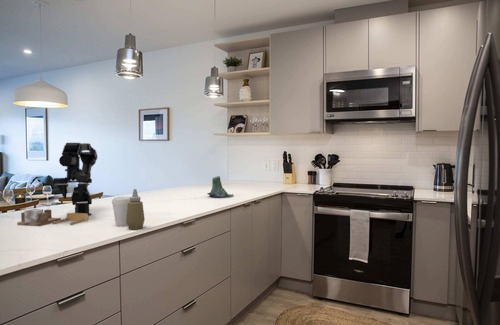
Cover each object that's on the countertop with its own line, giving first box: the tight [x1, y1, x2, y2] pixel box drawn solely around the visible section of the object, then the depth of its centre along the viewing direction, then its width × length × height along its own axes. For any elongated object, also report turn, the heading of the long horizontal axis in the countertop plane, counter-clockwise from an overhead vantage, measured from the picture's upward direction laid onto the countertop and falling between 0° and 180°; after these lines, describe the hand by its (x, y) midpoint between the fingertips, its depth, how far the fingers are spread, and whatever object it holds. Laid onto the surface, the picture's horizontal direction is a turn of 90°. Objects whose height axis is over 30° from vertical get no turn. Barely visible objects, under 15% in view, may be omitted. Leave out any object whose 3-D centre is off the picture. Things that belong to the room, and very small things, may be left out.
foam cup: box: [111, 196, 131, 227], centre depth 161 cm, size 10×9×13 cm
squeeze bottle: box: [126, 188, 145, 230], centre depth 154 cm, size 8×8×18 cm
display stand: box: [16, 208, 62, 227], centre depth 166 cm, size 13×13×7 cm
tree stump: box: [207, 176, 234, 199], centre depth 254 cm, size 18×20×18 cm
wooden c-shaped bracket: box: [52, 212, 89, 226], centre depth 167 cm, size 11×11×4 cm
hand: (73, 197), depth 170 cm, fingers open, 9 cm apart
